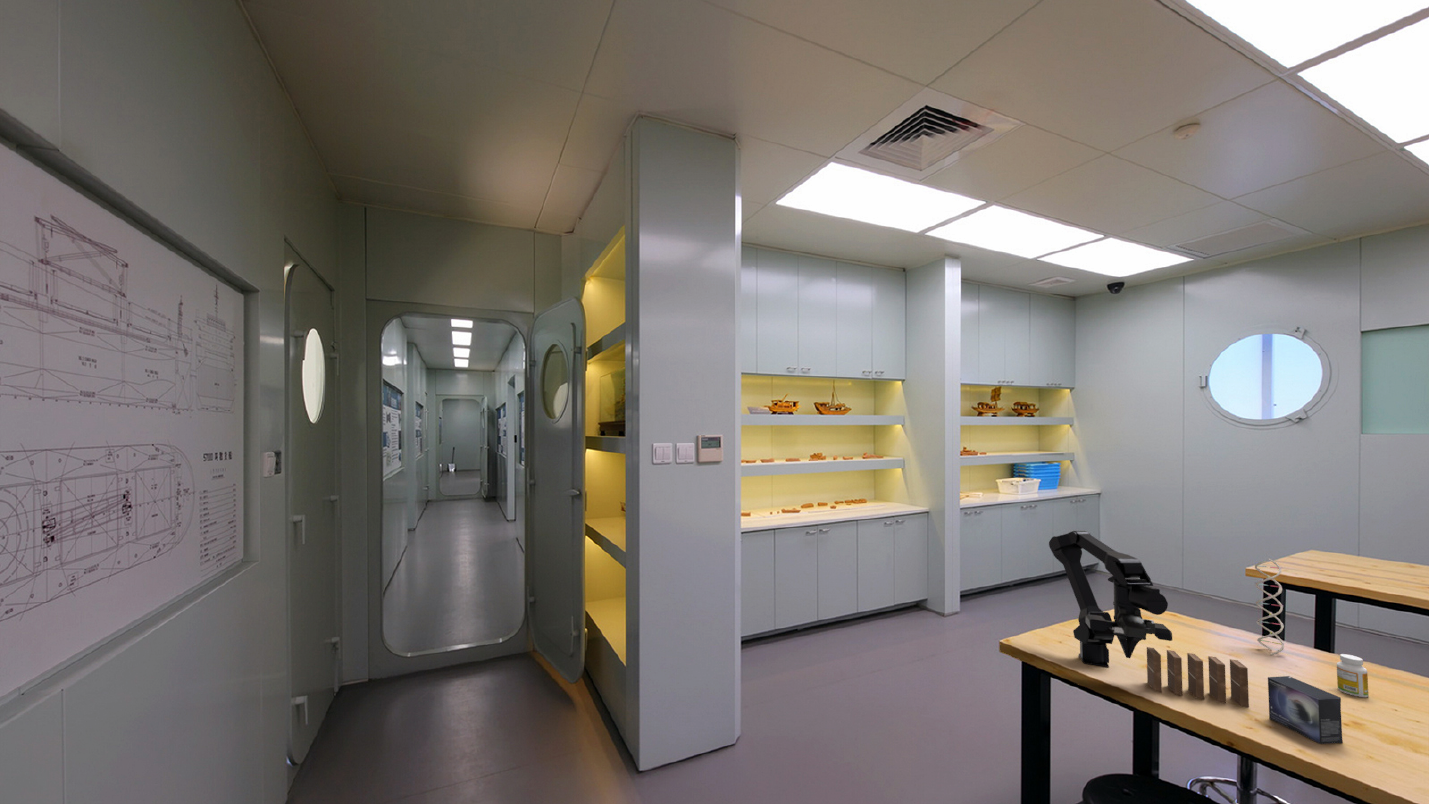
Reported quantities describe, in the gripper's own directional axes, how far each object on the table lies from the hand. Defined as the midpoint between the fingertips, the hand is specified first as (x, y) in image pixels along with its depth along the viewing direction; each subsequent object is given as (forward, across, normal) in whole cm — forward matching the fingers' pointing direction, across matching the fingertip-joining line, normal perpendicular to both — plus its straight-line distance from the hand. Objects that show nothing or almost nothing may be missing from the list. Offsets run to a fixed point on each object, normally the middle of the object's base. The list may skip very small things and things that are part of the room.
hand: (1127, 657), depth 147 cm
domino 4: (+7, +19, 0) cm, 21 cm away
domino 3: (+7, +15, 0) cm, 16 cm away
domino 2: (+7, +10, 0) cm, 13 cm away
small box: (+7, +31, -11) cm, 34 cm away
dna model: (+7, +49, +45) cm, 67 cm away
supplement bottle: (+7, +55, +20) cm, 59 cm away
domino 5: (+7, +24, 0) cm, 25 cm away
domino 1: (+7, +6, 0) cm, 9 cm away
